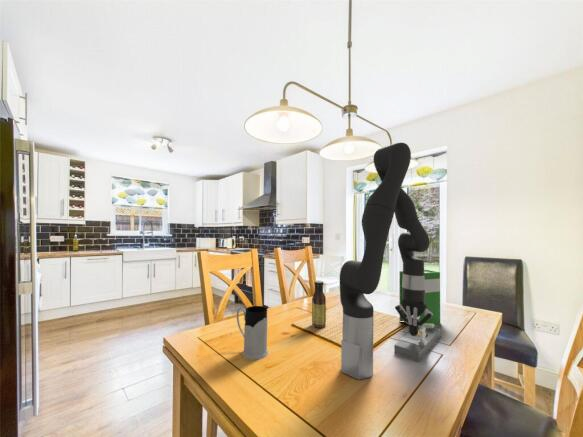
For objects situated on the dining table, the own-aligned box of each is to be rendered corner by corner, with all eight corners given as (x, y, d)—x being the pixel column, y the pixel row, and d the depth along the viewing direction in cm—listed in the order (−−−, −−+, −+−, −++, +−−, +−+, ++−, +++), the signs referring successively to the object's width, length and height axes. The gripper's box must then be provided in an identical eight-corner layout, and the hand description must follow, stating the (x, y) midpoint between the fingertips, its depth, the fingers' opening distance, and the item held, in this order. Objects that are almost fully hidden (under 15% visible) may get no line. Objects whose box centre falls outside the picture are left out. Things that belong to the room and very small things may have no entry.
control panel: (418, 362, 83) (418, 350, 83) (394, 353, 88) (394, 342, 88) (440, 336, 103) (440, 327, 103) (419, 331, 108) (419, 322, 109)
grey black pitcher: (255, 362, 80) (256, 315, 81) (226, 349, 89) (228, 306, 90) (273, 352, 87) (274, 308, 88) (245, 340, 96) (246, 301, 96)
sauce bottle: (316, 322, 117) (317, 279, 118) (328, 325, 113) (329, 281, 114) (308, 326, 112) (309, 281, 112) (320, 329, 108) (321, 283, 109)
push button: (424, 342, 94) (424, 335, 95) (414, 339, 97) (414, 332, 97) (427, 339, 97) (427, 332, 97) (417, 336, 100) (417, 330, 100)
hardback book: (412, 328, 112) (412, 273, 113) (399, 322, 119) (399, 271, 120) (440, 323, 118) (439, 272, 119) (426, 318, 125) (426, 269, 126)
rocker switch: (432, 328, 100) (432, 325, 100) (419, 327, 103) (418, 324, 104) (434, 326, 102) (434, 323, 103) (421, 325, 106) (421, 323, 106)
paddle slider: (424, 345, 87) (424, 329, 87) (418, 344, 88) (417, 328, 88) (426, 343, 89) (426, 327, 89) (420, 341, 90) (420, 325, 90)
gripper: (391, 285, 93) (391, 332, 92) (430, 291, 84) (430, 344, 83) (398, 282, 99) (398, 327, 98) (436, 288, 90) (436, 337, 89)
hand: (413, 335), depth 91 cm, fingers closed
